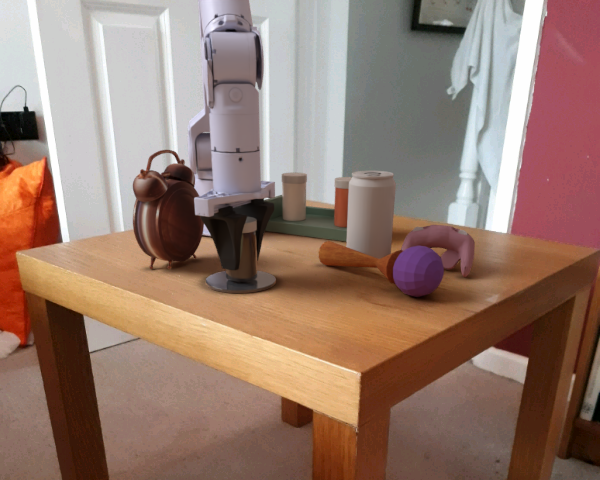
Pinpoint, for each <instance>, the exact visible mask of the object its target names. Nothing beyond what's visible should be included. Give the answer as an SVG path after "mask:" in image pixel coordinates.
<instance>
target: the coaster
mask: <svg viewBox="0 0 600 480" xmlns="http://www.w3.org/2000/svg"><path fill="white" fill-rule="evenodd" d="M276 283H277V279H276V276H275V275H273V274H272V273H270V272H266V271H263V270H257V278H256V279H254V280H250V281H232V280H229V279H227V278H226V270H223V271H219V272H215V273H212V274H210V275H209V276H207V277H205V286H206V287H207V288H208V289H210V290H213V291H216V292H221V293H226V294H227V293H228V294H249V293H251V294H252V293H258V292H262V291H265V290H268V289H271V288H272V287H274V286H275V285H276Z"/></svg>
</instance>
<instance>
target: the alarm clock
mask: <svg viewBox="0 0 600 480" xmlns="http://www.w3.org/2000/svg"><path fill="white" fill-rule="evenodd" d="M163 154H171V155H173V156H174V158H175V161H176V162H177V163H176V162H175V163H171V164H169V165H167V166H166V167H165V169H164V171H162V172H161V173H160V172H159V171H156V170H151V167H152V163H153V161H154V159H156V157H158V156H161V155H163ZM147 159H148V160H147V164H146V168H145V169H144V168H141V169H140V171H139V173H138V174H137V175H136V176H135V178H134V179H133V181H132V190H133V194H134V197H135V202H134V205H133V211H132V228H133V233H134V234H133V235H134V238H135V241H136V242H137V245H138V247H139V248H140V249H141V251H142V252H143V253H144V254H145V255H146V256H148V257H150V265H149V269H150V270H153V269H154V264H155V262H156V260H160V261H164V262H167V263H168V265H167V269H169V270H170V269H172V262H179V263H181V262H185V261H187V260H189V259H191V258H193V259H197V255H196V254H195V253H196V252H197V250H198V249H199V246H200V244H201V241H202V237H203V235H202V234H203V228H204V223H203V221H202V220H201V218H200V216H198V215H195V204H194V198H196V197H199V194H198V192H197V191H196V190H195V188H194V187H195V175H194V173H193V171H192V170H191V169H190V168H189V166H187V165H185V163H186V162H185V159H183V158H182V159H180V157H179V155H178V153H177V152H176V151H174V150H171V149H162V150H158V151H155V152H154V153H153V154H151V155H149V157H148V158H147Z"/></svg>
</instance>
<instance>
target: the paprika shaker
mask: <svg viewBox="0 0 600 480" xmlns="http://www.w3.org/2000/svg"><path fill="white" fill-rule="evenodd" d="M352 177H353V176H339V177H336V178H334V204H333V205H334V208H333V209H334V225H335V226H337V227H344V228H347V218H348V193H349V182H350V180H351V179H352Z"/></svg>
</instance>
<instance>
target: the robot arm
mask: <svg viewBox="0 0 600 480" xmlns="http://www.w3.org/2000/svg"><path fill="white" fill-rule="evenodd" d="M197 7H198V28H199V44H200V45H199V46H200V63H201V65H200V66H201V82H202V84H201V85H202V99H203V100H202V101H203V107H202V108H201V110H200V111H199V112H198V113H196V114H195V115H194V116H192V117H191V118H190V120H189V121H188V124H187V126H186V127H187V136H186V139H187V140H186V141H187V156H188V167H189V168H190V169H191V170H192V171H193V173H194V175H195V187H194V188H195V190H196V191H197V192H198V194H199V197H196V198H194V204H195V215H198V216H200V218H201V220H202V221H203V223H204V228H203V234H202V236H206V237H211V239H212V242H213V244H214V246H215V250H216V253H217V256H218V259H219V262H220V266H221V268H222V270H226V269H228V270H234V271H235V270H238V269H239V264H240V247H241V237H242V232H243V228H244V225H245V222H246V219H247V217H253V218H255V219H257V230H256V241H257V262H258V261H259V258H260V253H261V249H262V243H263V239H264V235H265V232H266V231H265V229H266V226H267V224H268V221H269V219H270V217H271V215H272V213H273V212H274V203H271V202H264V200H265V199H269V198H274V197H276V182H275V181H270V180H262V176H261V175H262V174H261V130H260V129H261V128H260V125H261V124H260V93H259V91H261V90H262V88H263V80H264V74H265V73H264V72H265V59H264V56H265V55H264V46H263V41H262V37H261V33H260V30H258V27H257V26H254V24H253V17H252V11H251V4H250V0H197ZM256 85H257V88H258V89H257V88H256Z"/></svg>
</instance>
